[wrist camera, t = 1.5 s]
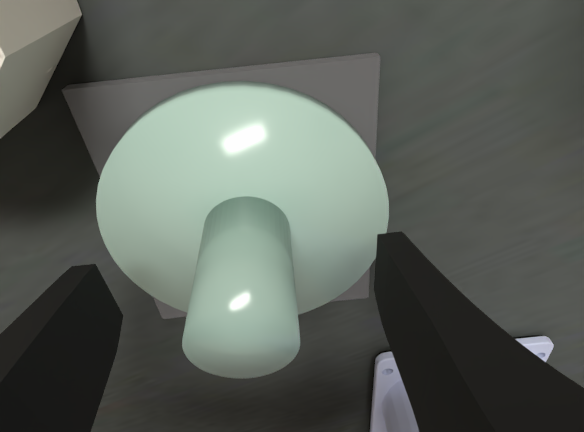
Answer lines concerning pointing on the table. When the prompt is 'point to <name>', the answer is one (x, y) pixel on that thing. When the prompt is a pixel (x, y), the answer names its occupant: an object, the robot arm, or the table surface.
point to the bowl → (30, 52)
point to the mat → (296, 75)
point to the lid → (242, 216)
